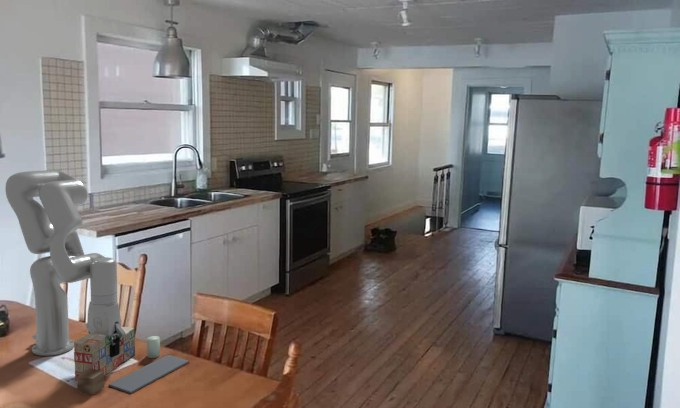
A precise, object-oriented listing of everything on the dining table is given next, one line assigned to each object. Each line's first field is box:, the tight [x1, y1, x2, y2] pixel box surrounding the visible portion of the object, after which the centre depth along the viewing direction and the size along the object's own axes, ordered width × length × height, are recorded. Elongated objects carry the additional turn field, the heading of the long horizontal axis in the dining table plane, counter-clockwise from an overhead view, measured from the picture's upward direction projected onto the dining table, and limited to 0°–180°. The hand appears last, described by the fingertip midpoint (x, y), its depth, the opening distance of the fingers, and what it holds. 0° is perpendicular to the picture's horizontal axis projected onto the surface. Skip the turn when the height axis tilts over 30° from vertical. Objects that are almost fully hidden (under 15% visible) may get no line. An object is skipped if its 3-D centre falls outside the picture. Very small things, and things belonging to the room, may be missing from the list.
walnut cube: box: [76, 369, 105, 396], centre depth 157 cm, size 5×5×5 cm
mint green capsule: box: [146, 335, 161, 359], centre depth 181 cm, size 4×4×6 cm
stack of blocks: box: [73, 326, 136, 382], centre depth 171 cm, size 21×6×12 cm, turn 167°
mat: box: [108, 354, 190, 394], centre depth 168 cm, size 9×24×1 cm, turn 154°
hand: (105, 352), depth 171 cm, fingers closed on stack of blocks, 7 cm apart
